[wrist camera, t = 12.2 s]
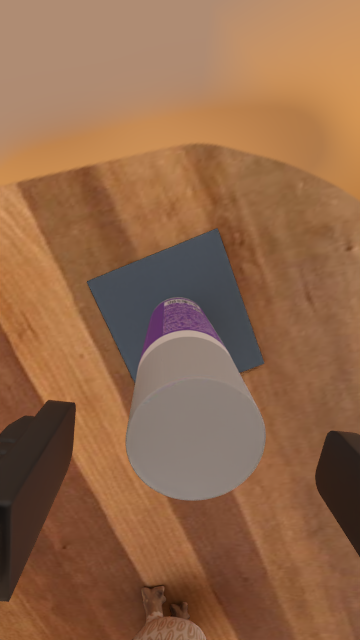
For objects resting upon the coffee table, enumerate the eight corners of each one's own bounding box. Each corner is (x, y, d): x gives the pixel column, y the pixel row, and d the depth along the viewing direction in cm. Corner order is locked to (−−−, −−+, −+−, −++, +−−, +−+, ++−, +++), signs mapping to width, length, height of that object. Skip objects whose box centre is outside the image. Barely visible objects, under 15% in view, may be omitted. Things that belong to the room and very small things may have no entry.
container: (137, 326, 23) (89, 447, 9) (177, 284, 23) (196, 341, 8) (178, 362, 24) (196, 527, 10) (218, 323, 24) (299, 438, 9)
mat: (88, 281, 23) (86, 281, 22) (216, 228, 22) (217, 227, 22) (147, 405, 26) (146, 408, 25) (262, 361, 25) (264, 363, 25)
